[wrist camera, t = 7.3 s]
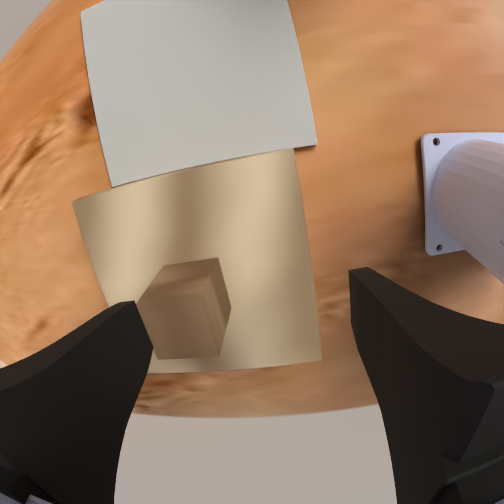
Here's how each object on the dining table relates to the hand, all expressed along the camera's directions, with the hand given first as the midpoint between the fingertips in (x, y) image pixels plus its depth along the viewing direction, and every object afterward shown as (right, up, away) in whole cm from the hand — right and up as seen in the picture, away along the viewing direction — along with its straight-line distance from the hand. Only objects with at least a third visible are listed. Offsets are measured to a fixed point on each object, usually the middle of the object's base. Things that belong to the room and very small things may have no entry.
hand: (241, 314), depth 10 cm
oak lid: (-2, 0, +8) cm, 8 cm away
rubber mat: (-3, +13, +6) cm, 15 cm away
